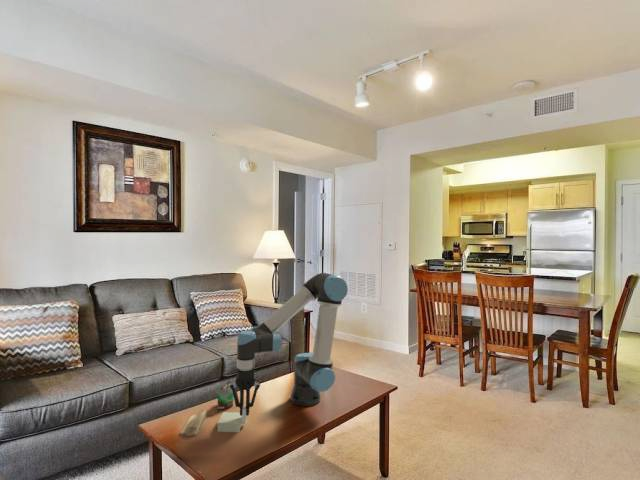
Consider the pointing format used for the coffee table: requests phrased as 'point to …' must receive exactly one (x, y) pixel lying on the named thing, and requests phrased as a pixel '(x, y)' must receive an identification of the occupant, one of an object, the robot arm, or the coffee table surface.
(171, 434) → the coffee table surface
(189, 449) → the coffee table surface
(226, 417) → the block
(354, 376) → the coffee table surface
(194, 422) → the beige ridged bar
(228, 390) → the food container
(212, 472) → the coffee table surface
